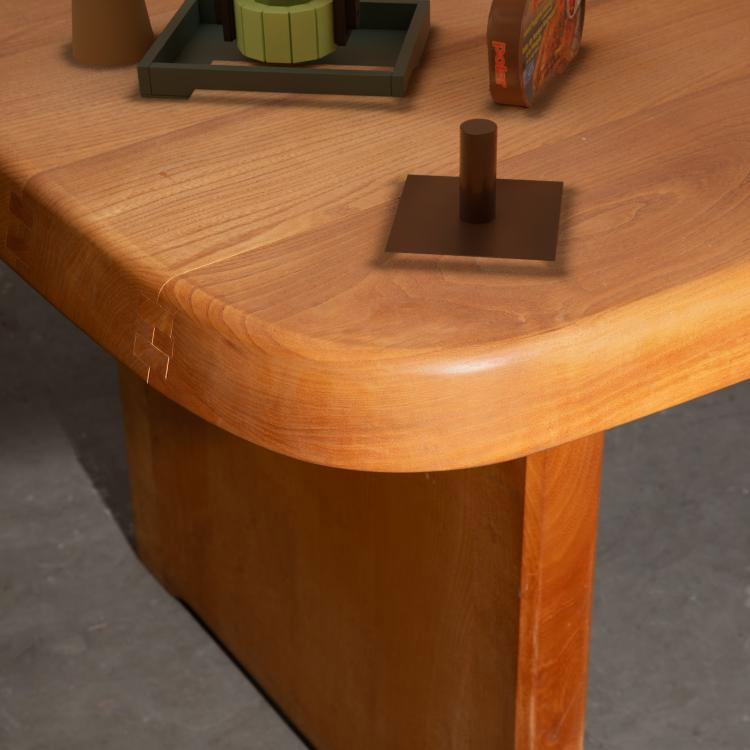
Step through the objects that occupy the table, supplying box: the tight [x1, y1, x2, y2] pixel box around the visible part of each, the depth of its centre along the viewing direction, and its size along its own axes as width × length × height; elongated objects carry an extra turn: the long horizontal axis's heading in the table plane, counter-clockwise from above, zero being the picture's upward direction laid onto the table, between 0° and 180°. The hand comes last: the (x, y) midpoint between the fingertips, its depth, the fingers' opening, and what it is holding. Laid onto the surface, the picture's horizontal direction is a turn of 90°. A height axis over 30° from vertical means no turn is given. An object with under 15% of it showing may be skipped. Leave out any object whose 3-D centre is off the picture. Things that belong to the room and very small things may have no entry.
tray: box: [136, 0, 431, 100], centre depth 100 cm, size 18×14×3 cm
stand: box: [384, 118, 565, 262], centre depth 79 cm, size 9×9×6 cm
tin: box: [485, 0, 587, 109], centre depth 95 cm, size 15×3×8 cm, turn 158°
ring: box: [233, 0, 338, 64], centre depth 98 cm, size 7×7×4 cm
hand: (288, 34), depth 99 cm, fingers closed on ring, 7 cm apart
